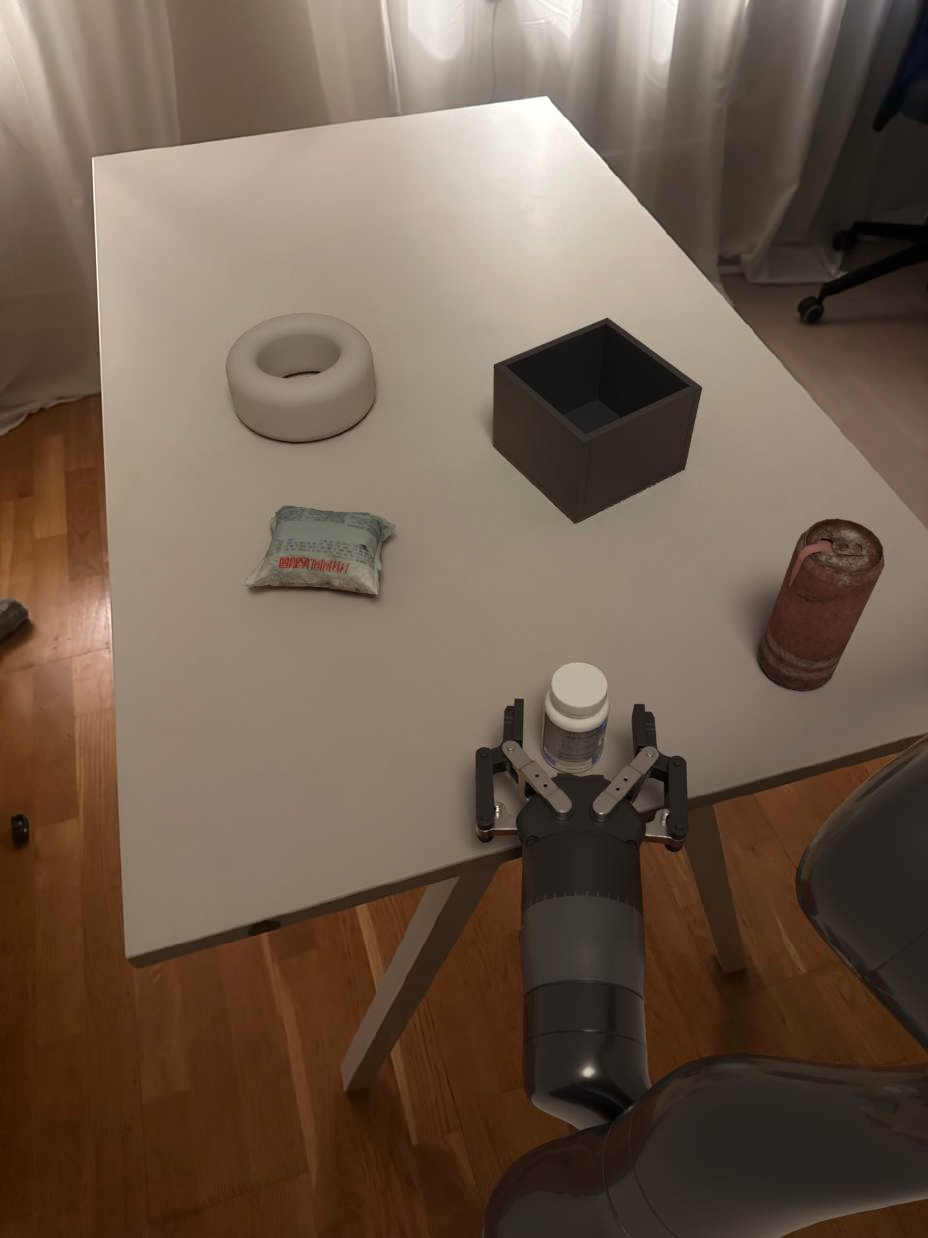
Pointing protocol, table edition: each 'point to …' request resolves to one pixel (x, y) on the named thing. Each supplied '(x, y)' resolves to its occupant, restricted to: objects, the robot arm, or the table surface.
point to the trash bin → (593, 417)
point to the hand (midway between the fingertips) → (577, 707)
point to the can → (820, 602)
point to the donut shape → (304, 401)
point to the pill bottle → (575, 718)
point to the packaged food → (323, 550)
